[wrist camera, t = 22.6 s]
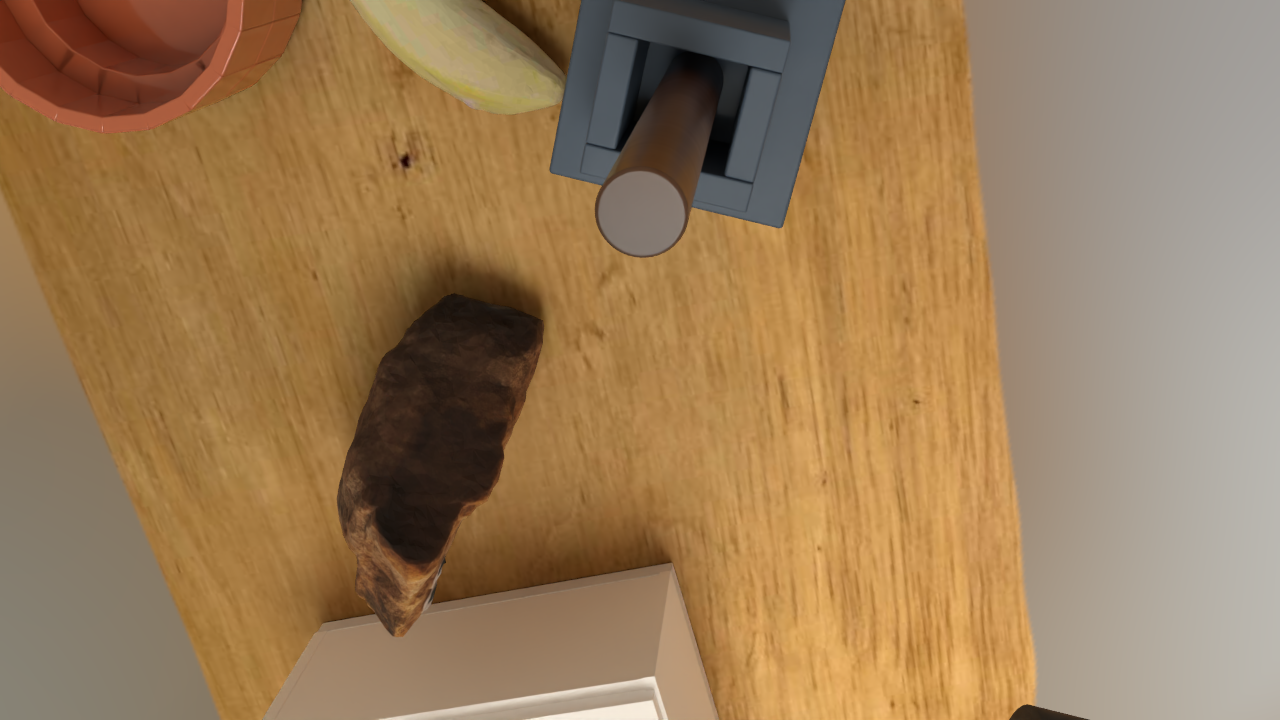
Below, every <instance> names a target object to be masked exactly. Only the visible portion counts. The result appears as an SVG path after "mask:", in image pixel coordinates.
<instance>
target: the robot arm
mask: <svg viewBox="0 0 1280 720" xmlns="http://www.w3.org/2000/svg"><path fill="white" fill-rule="evenodd" d="M1010 720H1088V719H1084V718H1080V717H1076V716H1072V715H1068V714H1064V713H1060V712H1056V711H1052V710H1048V709H1044V708H1039V707H1036V706H1032V705H1028V704H1027V705H1023V706H1021V707H1020V708H1018V709H1017V710H1016V711H1015V712H1014V714H1013V715H1012V716H1011V718H1010Z"/></svg>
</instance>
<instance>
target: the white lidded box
mask: <svg viewBox="0 0 1280 720" xmlns="http://www.w3.org/2000/svg"><path fill="white" fill-rule="evenodd" d="M262 720H719V717H718V714H717V711H716V707H715V704H714V701H713V697H712V694H711V690H710V687H709V684H708V680H707V677H706V674H705V670H704V667H703V664H702V660H701V657H700V654H699V650H698V647H697V643H696V640H695V637H694V633H693V630H692V627H691V623H690V620H689V617H688V613H687V610H686V607H685V603H684V600H683V597H682V593H681V590H680V586H679V583H678V580H677V576H676V573H675V570H674V566H673V563H667V564H661V565H656V566H650V567H644V568H638V569H633V570H627V571H621V572H615V573H610V574H604V575H598V576H592V577H587V578H581V579H575V580H569V581H563V582H558V583H552V584H546V585H540V586H535V587H529V588H523V589H517V590H512V591H506V592H500V593H494V594H488V595H483V596H477V597H471V598H465V599H460V600H454V601H448V602H442V603H437V604H431V605H430V606H429V608H428V609H426V610H425V611H424V612H423V613H422V614H421V615H420V617H419V618H418V619H417V620H416V621H415V623H414V624H413V625H412V626H411V628H410V629H409V630H408V632H407V633H406V634H405V635H404V637H393V636H392V635H391V634H390V633H389V632H388V631H387V630H386V628H385V627H384V626H383V624H382V623H381V621H380V620H379V618H378V617H377V615H376V614H373V615H367V616H362V617H356V618H350V619H344V620H339V621H333V622H327V623H323V624H322V625H321V627H320V629H319V630H318V632H315V633H314V635H313V637H312V638H311V640H310V642H309V643H308V645H307V646H306V648H305V650H304V651H303V653H302V655H301V656H300V658H299V660H298V661H297V663H296V665H295V666H294V668H293V670H292V671H291V673H290V674H289V676H288V678H287V679H286V681H285V683H284V684H283V686H282V688H281V689H280V691H279V693H278V694H277V696H276V698H275V699H274V701H273V702H272V704H271V706H270V707H269V709H268V711H267V712H266V714H265V716H264V717H263V719H262Z"/></svg>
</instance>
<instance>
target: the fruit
mask: <svg viewBox="0 0 1280 720" xmlns="http://www.w3.org/2000/svg"><path fill="white" fill-rule="evenodd" d="M350 1H351V2H352V4H353V5H354V7H355V8H356V10H357V11H358V12H359V14H360V15H361V17H362V18H363V19H364V21H365V22H366V23H367V24H368V26H369V27H370V28H371V29H372V31H373V32H374V33H375V34H376V35H377V36H378V37H379V39H380V40H381V41H382V42H383V43H384V44H385V46H386V47H387V48H388V49H389V50H390V51H391V52H392V53H393V54H394V55H395V56H397V57H398V58H399V59H400V60H401V61H402V62H403V63H404V64H405V65H407V66H408V67H409V68H410V69H411V70H413V71H414V72H415V73H417V74H418V75H419V76H421V77H422V78H424V79H425V80H427V81H428V82H430V83H431V84H433V85H435V86H436V87H438V88H440V89H442V90H443V91H445V92H447V93H449V94H450V95H452V96H453V97H455V98H457V99H458V100H460V101H462V102H464V103H465V104H466V105H468V106H469V107H471V108H473V109H476V110H485V111H487V112H490V113H493V114H507V115H511V114H519V113H524V112H529V111H534V110H539V109H544V108H547V107H551V106H554V105H556V104H558V103H560V102H561V101H562V100H563V95H564V90H565V85H566V79H567V77H566V75H565V74H564V72H563V71H562V70H561V69H560V68H559V67H558V66H557V65H556V64H555V63H554V62H553V61H552V59H551V58H550V57H549V56H548V55H547V54H546V53H545V52H544V51H543V50H542V49H541V48H540V47H539V46H537V45H536V44H535V43H534V42H533V41H532V40H531V39H530V38H529V37H527V36H526V35H525V34H524V33H523V32H521V31H520V30H519V29H518V28H517V27H515V26H514V25H513V24H511V23H510V22H509V21H507V20H506V19H505V18H503V17H502V16H501V15H499V14H498V13H497V12H496V11H494V10H493V9H492V8H491V7H489V6H488V5H487V4H485V3H484V2H483V1H481V0H350Z"/></svg>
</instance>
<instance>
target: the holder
mask: <svg viewBox="0 0 1280 720" xmlns="http://www.w3.org/2000/svg"><path fill="white" fill-rule="evenodd" d="M844 4H845V0H581V5H580V10H579V16H578V21H577V26H576V32H575V37H574V42H573V48H572V53H571V58H570V63H569V69H568V74H567V79H566V85H565V90H564V95H563V101H562V106H561V111H560V116H559V122H558V127H557V132H556V138H555V143H554V148H553V153H552V159H551V164H550V169H549V170H550V172H551V173H553V174H557V175H561V176H565V177H569V178H573V179H577V180H582V181H586V182H590V183H594V184H598V185H603V183H604V181H605V180H606V178H607V176H608V174H609V173H610V171H611V169H612V167H613V165H614V164H615V162H616V160H617V158H618V156H619V155H620V153H621V151H622V149H623V148H624V146H625V144H626V142H627V140H628V139H629V137H630V135H631V133H632V131H633V130H634V128H635V126H636V124H637V123H638V121H639V119H640V117H641V115H642V114H643V112H644V110H645V108H646V106H647V105H648V103H649V101H650V99H651V98H652V96H653V94H654V92H655V90H656V89H657V87H658V85H659V83H660V81H661V80H662V78H663V76H664V74H665V73H666V71H667V69H668V67H669V65H670V64H671V62H672V61H673V60H674V59H675V58H676V57H677V56H678V55H680V54H681V53H684V52H686V51H690V52H694V53H698V54H703V55H707V56H711V57H714V58H715V59H716V60H717V62H718V63H719V65H720V67H721V69H722V72H723V87H722V91H721V94H720V98H719V102H718V106H717V110H716V114H715V118H714V122H713V126H712V130H711V133H710V137H709V141H708V145H707V149H706V153H705V157H704V161H703V165H702V168H701V172H700V176H699V180H698V184H697V188H696V192H695V196H694V200H693V204H692V207H693V208H697V209H702V210H706V211H710V212H714V213H718V214H722V215H726V216H731V217H735V218H739V219H743V220H747V221H751V222H755V223H760V224H764V225H768V226H772V227H776V228H782V227H783V224H784V220H785V217H786V213H787V210H788V206H789V202H790V199H791V195H792V192H793V188H794V184H795V181H796V177H797V174H798V170H799V166H800V163H801V159H802V155H803V152H804V148H805V145H806V141H807V137H808V134H809V130H810V127H811V123H812V119H813V116H814V112H815V109H816V105H817V101H818V98H819V94H820V91H821V87H822V83H823V80H824V76H825V72H826V69H827V65H828V62H829V58H830V54H831V51H832V47H833V44H834V40H835V36H836V33H837V29H838V26H839V22H840V18H841V15H842V11H843V8H844Z"/></svg>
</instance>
